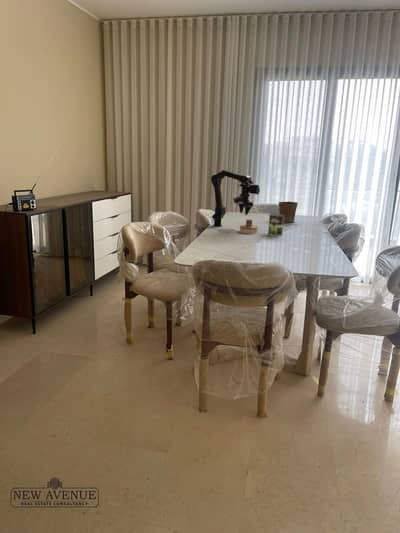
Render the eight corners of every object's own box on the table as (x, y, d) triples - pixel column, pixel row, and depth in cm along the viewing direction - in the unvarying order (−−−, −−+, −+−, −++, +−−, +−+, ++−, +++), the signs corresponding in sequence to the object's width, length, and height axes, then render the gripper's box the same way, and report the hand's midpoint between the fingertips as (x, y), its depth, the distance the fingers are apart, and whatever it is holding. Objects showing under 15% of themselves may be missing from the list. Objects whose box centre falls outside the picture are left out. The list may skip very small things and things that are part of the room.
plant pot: (275, 222, 325) (277, 203, 321) (277, 219, 340) (279, 201, 336) (295, 224, 321) (297, 204, 316) (296, 220, 336) (298, 202, 331)
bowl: (237, 231, 289) (238, 226, 288) (252, 230, 293) (252, 225, 292) (244, 234, 278) (244, 229, 277) (259, 233, 282) (260, 228, 281)
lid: (237, 226, 288) (237, 218, 286) (252, 225, 292) (253, 217, 290) (244, 229, 276) (244, 221, 275) (260, 228, 280) (261, 221, 279)
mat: (215, 229, 291) (215, 229, 291) (232, 229, 296) (232, 228, 296) (222, 233, 279) (222, 233, 279) (239, 232, 283) (239, 232, 283)
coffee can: (280, 236, 274) (281, 216, 270) (266, 234, 278) (267, 215, 274) (284, 233, 282) (285, 214, 278) (270, 232, 287) (272, 213, 283)
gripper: (230, 191, 292) (228, 212, 296) (240, 194, 275) (238, 216, 280) (243, 191, 295) (242, 211, 300) (254, 194, 278) (252, 216, 283)
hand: (243, 214), depth 290 cm, fingers open, 9 cm apart
